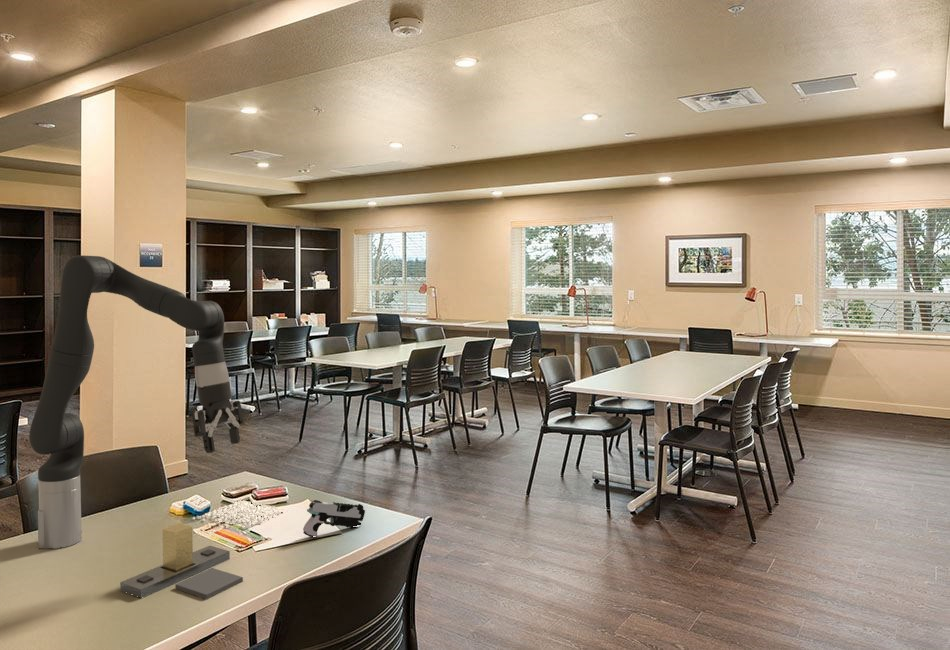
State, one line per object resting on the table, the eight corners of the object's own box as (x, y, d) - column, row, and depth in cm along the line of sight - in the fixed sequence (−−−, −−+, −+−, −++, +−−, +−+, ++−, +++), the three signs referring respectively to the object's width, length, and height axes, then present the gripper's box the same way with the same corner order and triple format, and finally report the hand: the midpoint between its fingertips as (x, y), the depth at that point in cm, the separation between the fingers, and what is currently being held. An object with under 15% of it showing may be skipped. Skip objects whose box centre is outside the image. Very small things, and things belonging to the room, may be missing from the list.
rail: (141, 598, 146) (140, 588, 145) (120, 591, 149) (120, 580, 149) (229, 559, 167) (229, 549, 167) (209, 553, 170) (209, 544, 170)
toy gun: (357, 542, 189) (367, 506, 190) (303, 537, 179) (313, 500, 180) (354, 539, 191) (363, 504, 192) (299, 535, 180) (309, 497, 182)
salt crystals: (291, 513, 202) (291, 507, 202) (244, 533, 184) (244, 528, 184) (240, 502, 211) (240, 497, 211) (189, 521, 193) (189, 515, 193)
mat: (206, 599, 146) (206, 594, 146) (175, 588, 150) (175, 584, 150) (242, 581, 155) (242, 577, 154) (212, 571, 159) (212, 567, 159)
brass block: (176, 580, 155) (175, 533, 154) (163, 575, 157) (162, 529, 156) (192, 572, 159) (192, 526, 158) (179, 568, 161) (179, 523, 160)
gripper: (221, 379, 173) (231, 441, 174) (178, 388, 160) (189, 456, 160) (245, 376, 170) (255, 439, 171) (203, 386, 157) (214, 454, 158)
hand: (223, 447), depth 166 cm, fingers open, 8 cm apart
